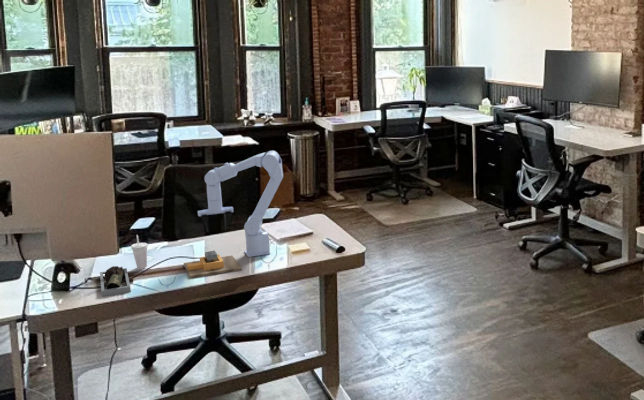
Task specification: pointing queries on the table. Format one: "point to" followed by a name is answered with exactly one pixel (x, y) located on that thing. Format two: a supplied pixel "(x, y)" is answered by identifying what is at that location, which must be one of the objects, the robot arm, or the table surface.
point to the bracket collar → (206, 264)
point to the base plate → (229, 266)
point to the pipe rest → (115, 290)
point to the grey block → (210, 256)
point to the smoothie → (140, 254)
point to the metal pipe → (114, 277)
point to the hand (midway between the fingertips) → (217, 230)
